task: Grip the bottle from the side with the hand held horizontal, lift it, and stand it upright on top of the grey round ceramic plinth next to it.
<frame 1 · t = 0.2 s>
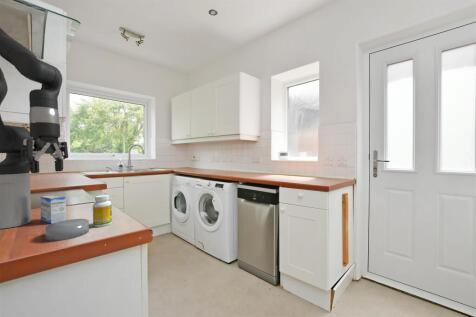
hand: (47, 172, 72), 18 cm above the table, tool pointing down, fingers open, 8 cm apart
medicine box: (53, 221, 78), on the table
plinth: (68, 234, 64), on the table
supplement bottle: (102, 225, 73), on the table
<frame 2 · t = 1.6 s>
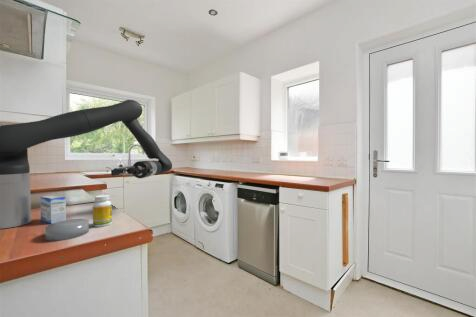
hand: (122, 172, 83), 16 cm above the table, tool horizontal, fingers open, 8 cm apart
nothing on the table moved.
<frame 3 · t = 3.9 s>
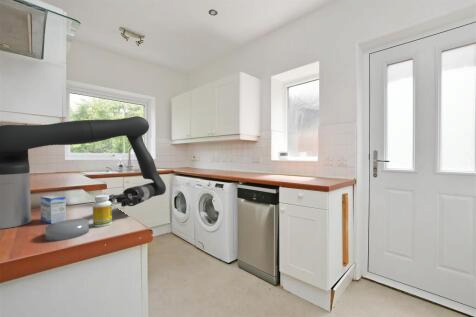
hand: (110, 203, 77), 6 cm above the table, tool horizontal, fingers open, 8 cm apart
nothing on the table moved.
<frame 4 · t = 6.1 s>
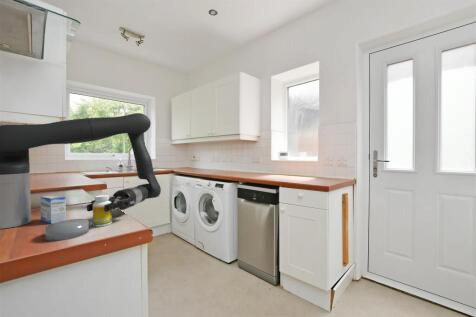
hand: (96, 208, 70), 6 cm above the table, tool horizontal, fingers closed on supplement bottle, 5 cm apart
supplement bottle: (102, 225, 73), on the table, touching gripper
everything else where it was.
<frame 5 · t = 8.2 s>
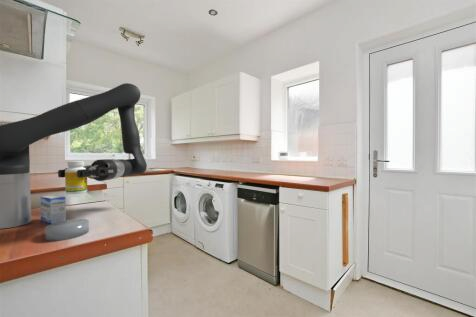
hand: (69, 173, 64), 18 cm above the table, tool horizontal, fingers closed on supplement bottle, 5 cm apart
supplement bottle: (76, 193, 66), point 11 cm above the table, touching gripper
everything else where it was.
when the fingers open (10 cm above the table, at t = 10.7 s): supplement bottle drops 1 cm, resting on plinth.
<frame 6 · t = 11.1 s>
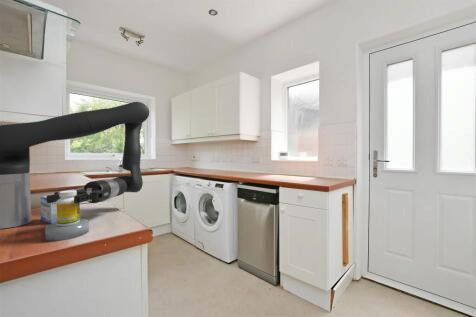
hand: (61, 199, 62), 11 cm above the table, tool horizontal, fingers open, 8 cm apart
supplement bottle: (68, 224, 64), point 3 cm above the table, touching plinth
everything else where it was.
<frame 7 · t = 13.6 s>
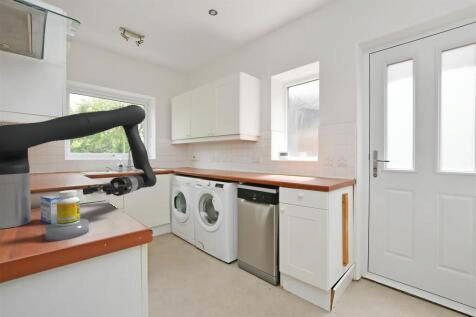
hand: (95, 191, 75), 11 cm above the table, tool horizontal, fingers open, 8 cm apart
nothing on the table moved.
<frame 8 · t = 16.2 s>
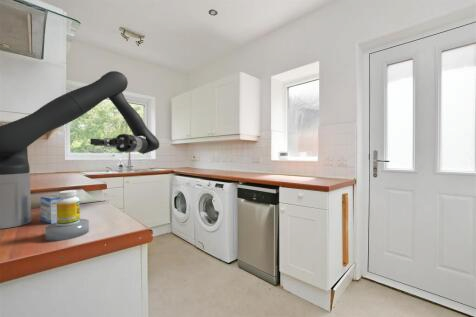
hand: (102, 141, 79), 28 cm above the table, tool horizontal, fingers open, 8 cm apart
nothing on the table moved.
at the end: supplement bottle inside the target area on the plinth (0.2 cm from its centre), point 2.8 cm above the plinth's base; supplement bottle tilted 0°; the gripper is holding nothing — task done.
